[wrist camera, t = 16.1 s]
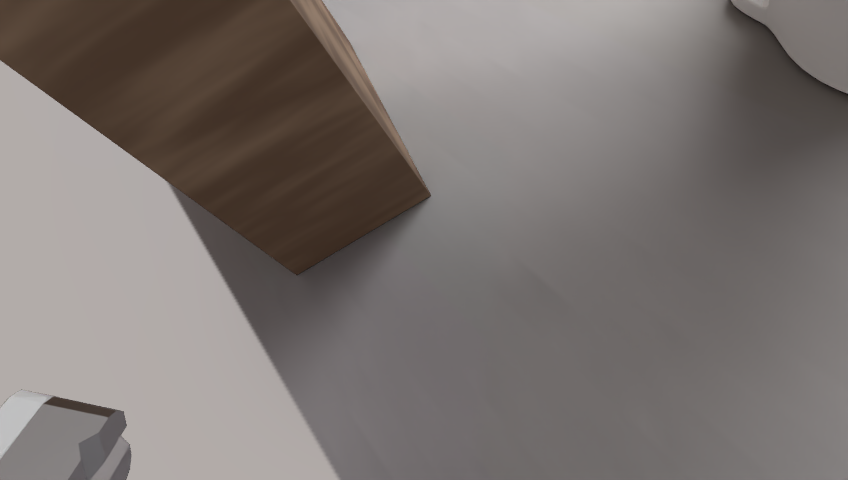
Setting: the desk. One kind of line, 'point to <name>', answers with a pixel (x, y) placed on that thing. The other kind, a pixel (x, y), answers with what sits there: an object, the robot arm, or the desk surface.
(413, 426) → the desk surface
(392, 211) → the pedestal
